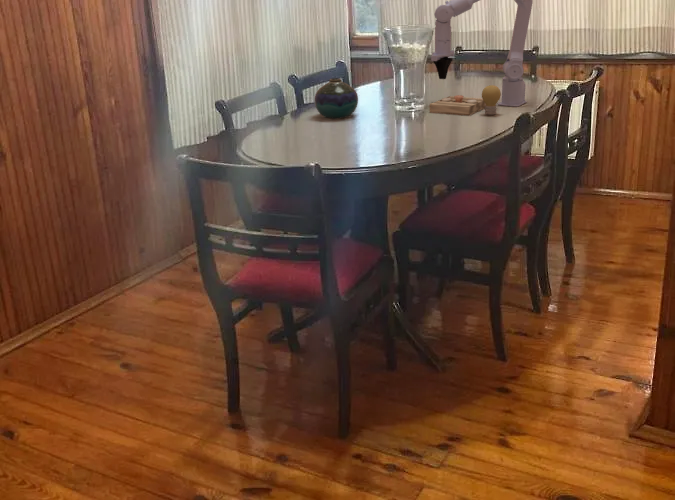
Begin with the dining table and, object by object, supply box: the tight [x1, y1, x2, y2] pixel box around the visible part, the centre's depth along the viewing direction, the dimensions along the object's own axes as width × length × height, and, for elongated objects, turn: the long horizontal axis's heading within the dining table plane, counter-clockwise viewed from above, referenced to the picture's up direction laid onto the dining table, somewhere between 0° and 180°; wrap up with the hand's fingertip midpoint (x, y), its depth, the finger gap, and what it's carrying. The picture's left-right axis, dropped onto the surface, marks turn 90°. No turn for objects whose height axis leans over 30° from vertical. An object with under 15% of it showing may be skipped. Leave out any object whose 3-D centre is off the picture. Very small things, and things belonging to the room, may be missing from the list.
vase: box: [314, 77, 359, 119], centre depth 260 cm, size 15×15×13 cm
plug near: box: [467, 100, 476, 104], centre depth 261 cm, size 3×3×3 cm
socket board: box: [429, 95, 486, 117], centre depth 264 cm, size 16×15×3 cm
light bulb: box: [481, 84, 502, 116], centre depth 253 cm, size 6×6×10 cm
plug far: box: [441, 97, 451, 102], centre depth 267 cm, size 3×3×3 cm
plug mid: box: [453, 94, 465, 103], centre depth 263 cm, size 3×3×3 cm
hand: (442, 78), depth 269 cm, fingers closed
